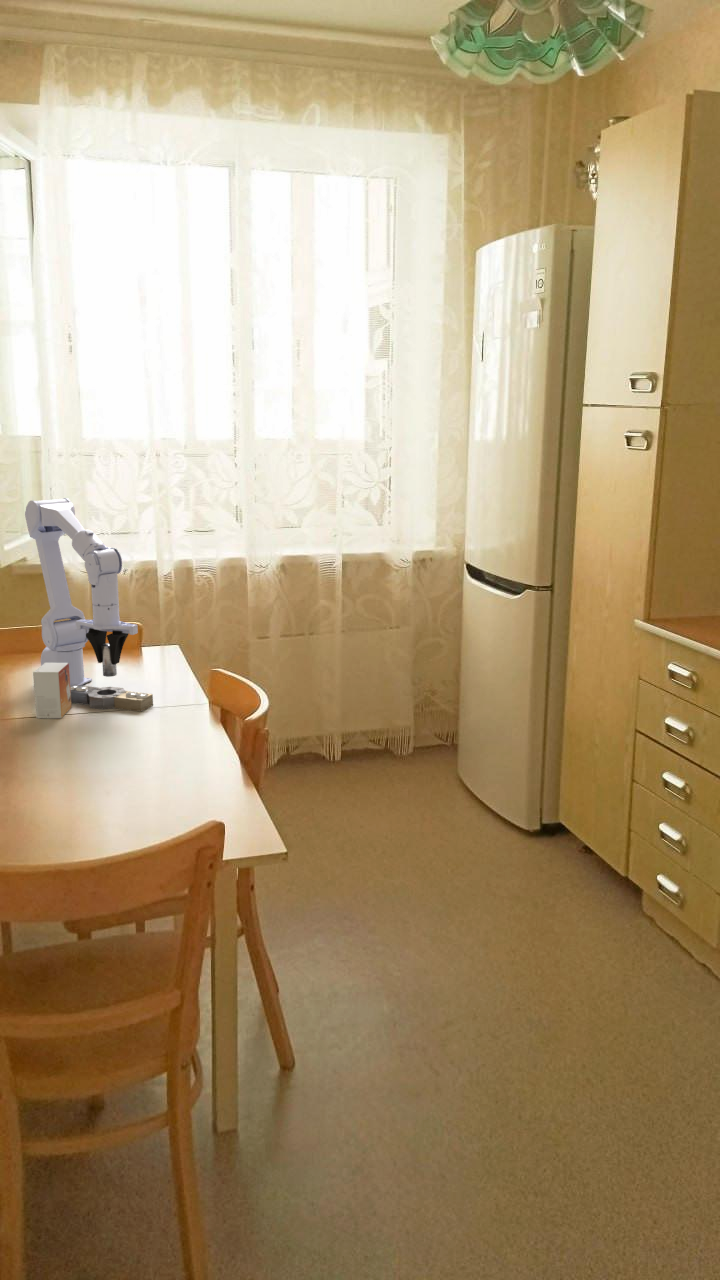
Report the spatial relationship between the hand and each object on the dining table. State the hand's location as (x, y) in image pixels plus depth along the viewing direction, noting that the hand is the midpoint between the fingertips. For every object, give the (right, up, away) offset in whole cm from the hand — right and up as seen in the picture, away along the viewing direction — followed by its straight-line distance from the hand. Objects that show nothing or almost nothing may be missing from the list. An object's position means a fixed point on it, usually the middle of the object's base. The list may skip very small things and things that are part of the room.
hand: (108, 662), depth 229 cm
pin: (0, -3, +1) cm, 3 cm away
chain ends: (-1, -9, +2) cm, 9 cm away
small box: (-11, -11, -5) cm, 16 cm away
